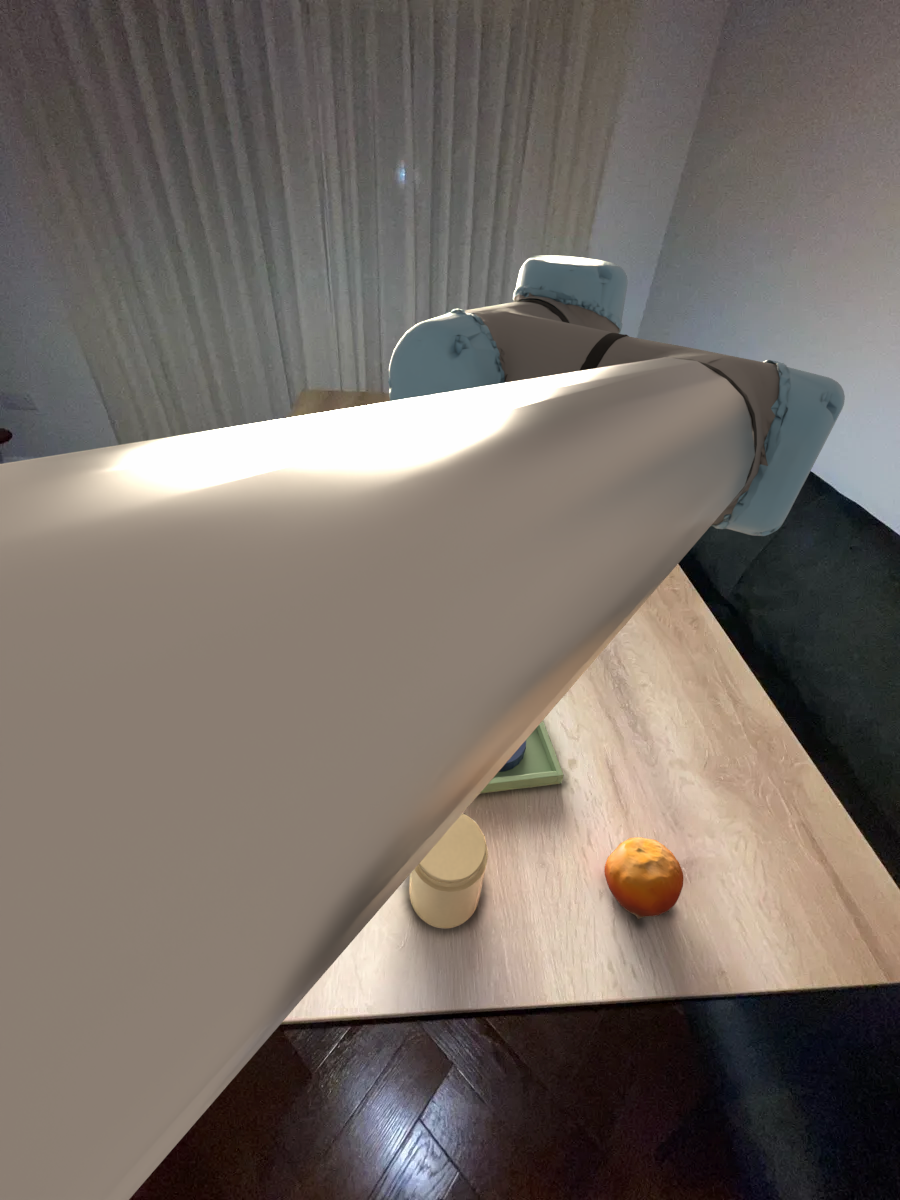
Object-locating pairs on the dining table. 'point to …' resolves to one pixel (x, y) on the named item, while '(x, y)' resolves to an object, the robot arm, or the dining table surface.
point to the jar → (450, 876)
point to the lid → (514, 758)
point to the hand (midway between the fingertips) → (507, 654)
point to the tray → (531, 766)
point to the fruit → (644, 877)
